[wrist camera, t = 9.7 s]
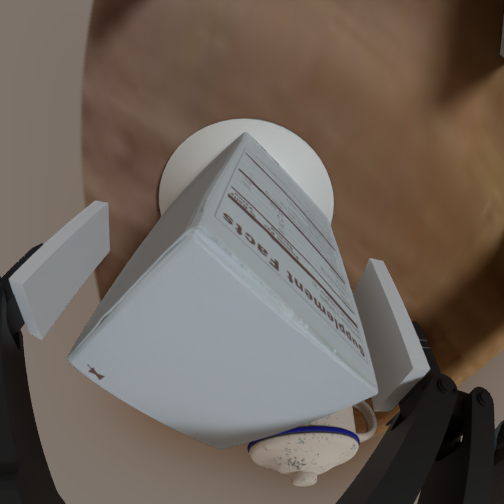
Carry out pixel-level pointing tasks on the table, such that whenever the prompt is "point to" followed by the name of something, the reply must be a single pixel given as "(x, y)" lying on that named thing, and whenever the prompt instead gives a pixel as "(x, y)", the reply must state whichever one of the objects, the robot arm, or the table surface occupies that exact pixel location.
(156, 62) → the table surface
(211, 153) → the coaster
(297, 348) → the supplement box
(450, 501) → the robot arm
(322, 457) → the teacup with lid
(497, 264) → the table surface
